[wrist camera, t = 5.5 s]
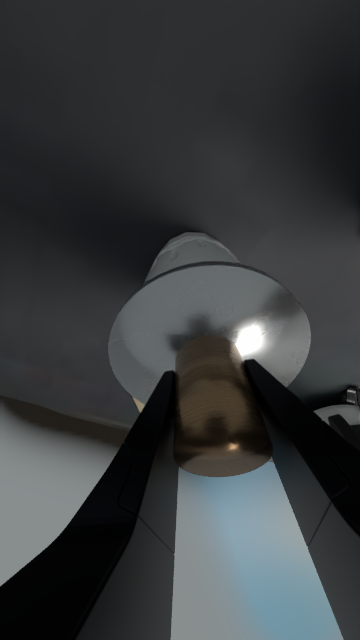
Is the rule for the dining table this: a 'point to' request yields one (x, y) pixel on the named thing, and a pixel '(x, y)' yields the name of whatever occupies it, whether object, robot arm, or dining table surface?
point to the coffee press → (344, 417)
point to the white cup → (189, 253)
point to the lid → (211, 357)
